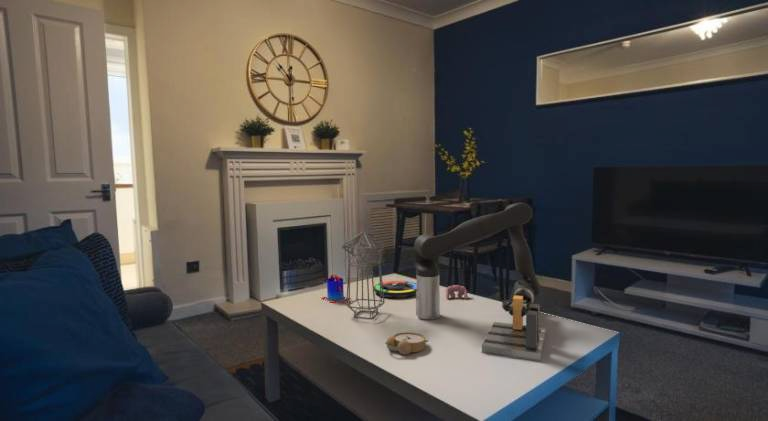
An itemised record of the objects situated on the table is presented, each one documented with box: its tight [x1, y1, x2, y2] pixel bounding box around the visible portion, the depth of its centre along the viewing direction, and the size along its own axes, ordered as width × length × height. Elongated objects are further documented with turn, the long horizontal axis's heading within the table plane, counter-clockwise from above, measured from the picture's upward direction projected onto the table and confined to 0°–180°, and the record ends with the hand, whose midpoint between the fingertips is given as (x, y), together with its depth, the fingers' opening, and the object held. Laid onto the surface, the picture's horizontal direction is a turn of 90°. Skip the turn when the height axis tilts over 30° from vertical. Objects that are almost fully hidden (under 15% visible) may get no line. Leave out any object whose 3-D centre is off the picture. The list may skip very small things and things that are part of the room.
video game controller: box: [445, 284, 468, 300], centre depth 200 cm, size 10×5×7 cm, turn 85°
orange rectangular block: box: [512, 294, 524, 330], centre depth 153 cm, size 3×4×11 cm
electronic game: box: [374, 280, 417, 299], centre depth 212 cm, size 23×23×5 cm
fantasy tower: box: [320, 274, 352, 305], centre depth 203 cm, size 12×12×12 cm
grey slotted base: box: [481, 303, 547, 362], centre depth 146 cm, size 18×23×14 cm
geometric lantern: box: [340, 231, 388, 320], centre depth 179 cm, size 16×16×35 cm
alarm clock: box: [385, 331, 429, 356], centre depth 145 cm, size 11×5×15 cm
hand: (517, 313), depth 150 cm, fingers closed on orange rectangular block, 3 cm apart
